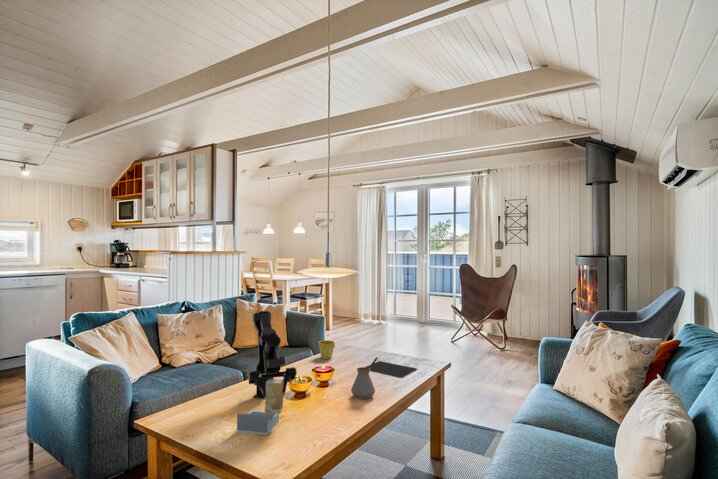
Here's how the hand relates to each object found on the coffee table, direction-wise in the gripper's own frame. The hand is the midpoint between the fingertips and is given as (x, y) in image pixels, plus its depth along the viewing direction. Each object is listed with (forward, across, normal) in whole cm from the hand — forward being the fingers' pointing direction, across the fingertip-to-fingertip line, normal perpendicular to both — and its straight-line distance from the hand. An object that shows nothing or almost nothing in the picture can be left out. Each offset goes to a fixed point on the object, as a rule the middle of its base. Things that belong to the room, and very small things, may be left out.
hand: (274, 395), depth 157 cm
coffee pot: (-6, +48, +24) cm, 55 cm away
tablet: (-27, +75, +46) cm, 92 cm away
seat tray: (+7, -6, +10) cm, 14 cm away
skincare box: (+4, 0, +6) cm, 7 cm away
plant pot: (-52, +47, +71) cm, 100 cm away
